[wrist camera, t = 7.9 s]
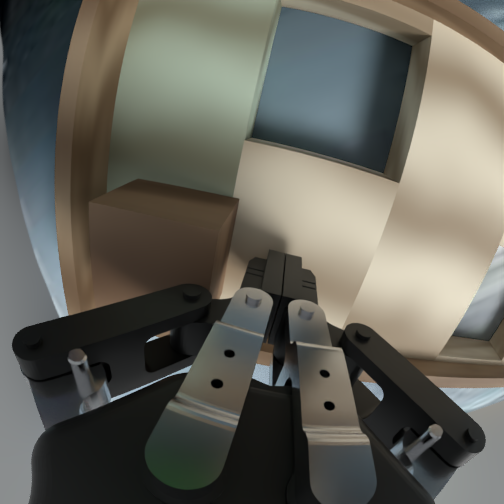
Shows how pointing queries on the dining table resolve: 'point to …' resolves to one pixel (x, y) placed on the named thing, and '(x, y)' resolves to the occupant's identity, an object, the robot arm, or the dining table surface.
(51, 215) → the dining table surface
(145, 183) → the walnut block
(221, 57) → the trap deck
